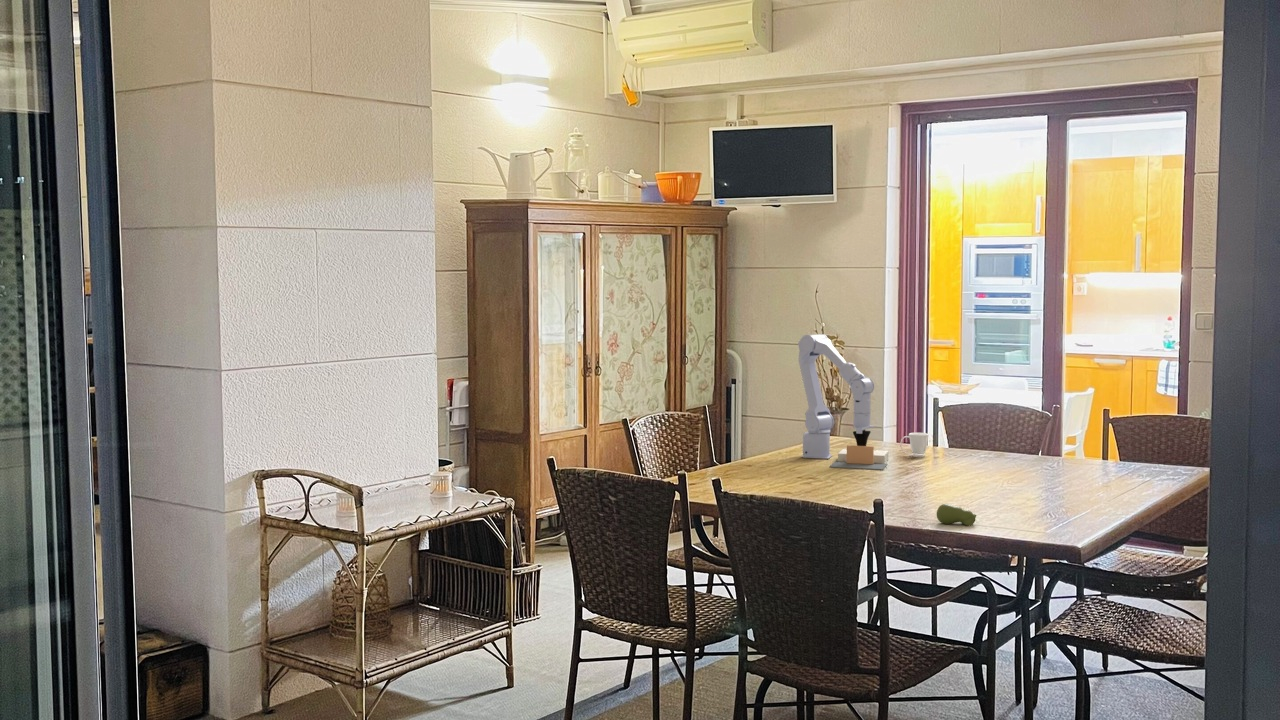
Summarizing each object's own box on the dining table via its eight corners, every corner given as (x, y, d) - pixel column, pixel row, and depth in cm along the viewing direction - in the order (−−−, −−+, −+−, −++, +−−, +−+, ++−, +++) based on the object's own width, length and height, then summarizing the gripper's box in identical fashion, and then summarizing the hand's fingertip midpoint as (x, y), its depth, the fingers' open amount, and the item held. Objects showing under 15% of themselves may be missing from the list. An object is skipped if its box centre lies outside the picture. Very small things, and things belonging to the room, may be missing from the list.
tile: (847, 462, 403) (846, 463, 402) (847, 445, 403) (846, 445, 401) (873, 463, 401) (872, 464, 399) (873, 446, 401) (873, 446, 399)
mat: (829, 467, 395) (829, 466, 395) (834, 462, 407) (834, 461, 407) (883, 470, 390) (883, 469, 390) (887, 464, 401) (887, 463, 401)
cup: (929, 457, 417) (929, 435, 416) (900, 457, 419) (900, 434, 418) (927, 454, 424) (928, 432, 423) (899, 454, 425) (899, 432, 425)
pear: (938, 500, 308) (977, 508, 306) (934, 519, 309) (973, 527, 307) (938, 504, 303) (978, 512, 301) (934, 523, 304) (974, 532, 301)
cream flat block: (837, 462, 407) (838, 453, 407) (843, 457, 418) (843, 448, 418) (884, 464, 402) (884, 455, 402) (888, 459, 413) (888, 450, 413)
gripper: (871, 415, 396) (870, 455, 397) (876, 411, 409) (875, 449, 410) (850, 414, 398) (849, 454, 399) (855, 410, 412) (855, 448, 413)
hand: (861, 451), depth 405 cm, fingers closed
